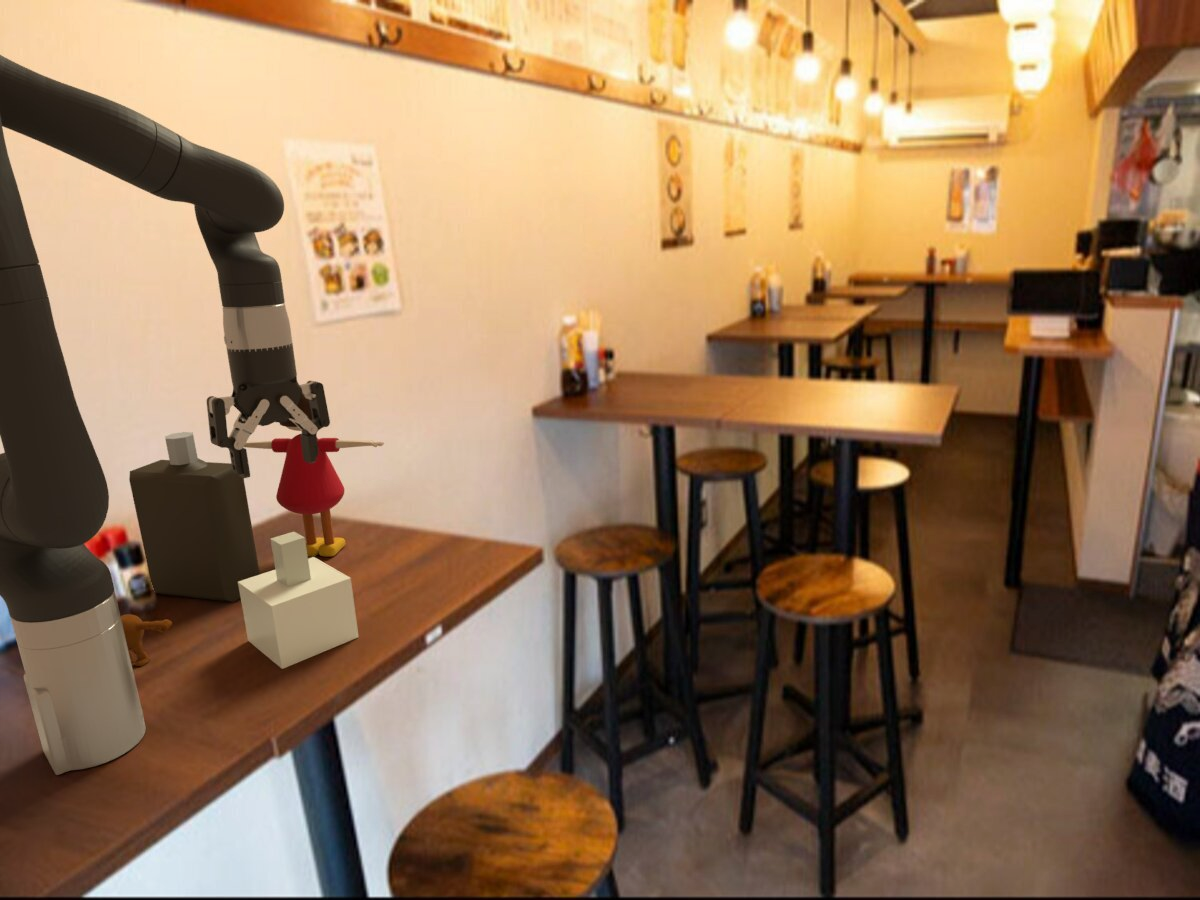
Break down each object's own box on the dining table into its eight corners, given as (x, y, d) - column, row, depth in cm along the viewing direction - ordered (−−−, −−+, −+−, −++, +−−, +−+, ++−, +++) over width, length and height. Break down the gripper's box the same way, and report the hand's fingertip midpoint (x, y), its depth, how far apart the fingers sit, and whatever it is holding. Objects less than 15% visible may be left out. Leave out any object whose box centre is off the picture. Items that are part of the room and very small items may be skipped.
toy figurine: (81, 670, 103) (69, 622, 101) (101, 655, 107) (90, 609, 105) (168, 671, 102) (158, 624, 100) (186, 656, 105) (176, 610, 104)
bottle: (233, 605, 119) (203, 444, 113) (147, 595, 124) (113, 440, 117) (268, 582, 127) (242, 430, 120) (185, 574, 131) (156, 426, 124)
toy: (405, 543, 140) (386, 375, 132) (383, 568, 130) (361, 388, 122) (261, 542, 143) (233, 377, 135) (228, 567, 133) (196, 391, 125)
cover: (282, 669, 102) (264, 561, 97) (248, 640, 109) (230, 539, 105) (358, 637, 109) (344, 536, 105) (322, 612, 116) (307, 517, 112)
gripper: (210, 352, 90) (232, 488, 95) (328, 337, 100) (343, 462, 104) (187, 347, 96) (209, 476, 100) (301, 333, 105) (317, 452, 109)
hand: (278, 469), depth 102 cm, fingers open, 8 cm apart
